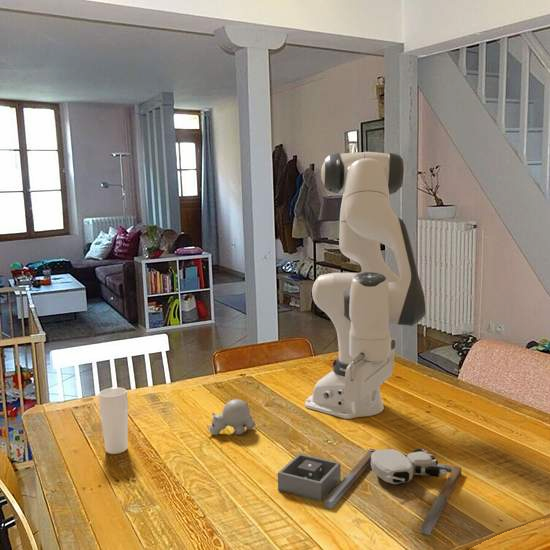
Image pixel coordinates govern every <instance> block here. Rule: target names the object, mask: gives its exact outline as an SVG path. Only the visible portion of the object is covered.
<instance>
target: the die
mask: <svg viewBox="0 0 550 550" xmlns="http://www.w3.org/2000/svg"><path fill="white" fill-rule="evenodd" d="M297 476H299V477H303V478H307V479H311V480H315V481H320V480H321V479H322V478H323V464H322V463H318V462H314V461H310V460H305V461H304V462H303V463H302V464H300V465H299V466H298V467H297Z"/></svg>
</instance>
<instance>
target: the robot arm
mask: <svg viewBox="0 0 550 550" xmlns="http://www.w3.org/2000/svg"><path fill="white" fill-rule="evenodd" d="M403 159H404V158H402V156H401V155H399V154H397V153H391V152H387V153H384V152H376V151H363V152H359V151H358V152H357V151H356V152H347V153H345V152H344V153H340V152H337V153H331V154H328V155H327V156H326V157H325V158H324V161H323V163H322V166H321V169H320V176H321V177H320V178H321V181H322V183H323V185H324V186H323V188H325V190H327V192H330V193H334V194H339V193H341V194H342V193H343V194H342V199H341V204H340V210H339V211H340V212H339V229H338V230H339V238H338V239H339V240H338V243H339V244H338V247H339V250H340V252H341V254H342V255H343V256H345V257H346V258H347V259H350V260H351V261H353V262H356V263H357V264H359V266H360V268H361V271H360V272H331V273H326V274H320V275H318V277H317V278H316V279H315V280H314V282H313V285H312V288H311V295H312V300H313V302H314V304H315V305H316V307H318V309H320V310H321V311H322V312H324V313H325V314H326V315H327V317H328V318H329V319H330V321H331V322H332V324H333V326H334V328H335V331H336V334H337V344H338V355H337V356H336V358H335V359H333V360H332V362H331V363H330V368H332V370H331V371H330V372H329V373H327V374H326V375H324V376H323V377H322V378H320V379H319V380H317V382H316V383H315V385H314V386H313V391H312V392H313V393H312V394H311V395H310V396H308V397H307V399H305V402H304V406H305V408H307V409H310V410H314V411H317V412H320V413H325V414H327V415H332V416H335V417H339V418H342V419H345V420H346V419H347V420H349V419H353V418H354V419H355V418H360V417H363V418H364V417H371V416H375V415H378V414H380V413H382V412H383V410H384V409H385V407H384V404H383V403H384V402H383V400H382V395H381V389H380V386H381V385H382V384H383V383H384V382H386V381H387V380H388V379H389V378H391V377H392V374H393V372H394V363H395V348H396V347H397V339H396V338H394V337H391V330H390V329H389V328H390V326H389V325H399V326H408V327H413V326H415V325H417V324H418V323H419V322H420V321H421V320H422V319H423V318H424V317H425V316H426V311H427V298H426V294H425V292H424V289H423V287H422V286H423V285H422V282H421V280H420V276H419V273H418V269H417V264H416V260H415V259H416V258H415V255H414V252H413V247H412V243H411V240H410V236H409V233H408V230H407V227H406V224H405V222H404V220H403V219H402V218H400V217H398V216H397V215H396V214H395V213H394V211H393V210H392V207H391V203H390V202H391V201H390V195H392V194H393V195H394V194H395V193H397V192H398V191H399V190H400V189H401V188H402V186H403V183H404V181H405V178H406V166H405V163H404V160H403ZM381 244H382V245H384V246H386V247H387V248H389V249H390V250H391V251H392V253H393V255H394V258H395V261H396V266H397V270H398V275H397V274H396V273H394V271H393V270H391V268H390V267H389V266H388V264H387V263H386V261H385V260H384V259H385V258H384V257H383V254H382V251H381Z"/></svg>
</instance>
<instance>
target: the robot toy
mask: <svg viewBox="0 0 550 550" xmlns="http://www.w3.org/2000/svg"><path fill="white" fill-rule="evenodd" d="M375 450H376V451H373V450H370V448H369V449H368V448H367V449H365V451H366V452H368V451H370V452H373V453H372V455H371V463H370V467H371V469H372V472H373V473H374V474H376V476H377V477H379V478H380V479H381V480H382V481H384V482H386V483H389V484H392V485H398V484H402V483H408V482H410V481H411V480H412V479H413V478H414V477H413V476H414V475H415V476H416V475H417V476H421V477H424V476H425V477H426V476H429V477H433V478H439V477H440V476H442V477H446V476H447V475H448V471H446V470H443V469H442V470H440V469H439V467H436V466H437V464H438V463H439V462H438V459H437V458H436V457H435V456H434V455H433V454H431V453H428V451H427V450H426V449H423V448H422V449H421V448H417V449H414V450H413V451H412V452H410V453H408V454H405V455H404V454H403V453H402V452H400V451H399V450H396V449H392V448H389V449H388V448H387V449H386V448H385V449H375Z"/></svg>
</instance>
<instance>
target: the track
mask: <svg viewBox="0 0 550 550" xmlns="http://www.w3.org/2000/svg"><path fill="white" fill-rule="evenodd" d="M369 450H373V451H376V450H377V449H374V448H369ZM372 453H373V452H370V451H366V453H365V455H364V456H363V457H362V458H361V459H360V460H359V461H358V462H357V463H356V465H354V467H353V468H352V469H351V470H350V471H349V472H348V474H347V475H345V477H344V478H343V479H342V480H340V481H339V483H338V484H337V485H336V486H335V487H334V488H333V489H332V490H331V492H330V493H329V494H328V495H327V496H326V497H325V498H324V508H326V509H329V510H333V508H334V507H335V506H336V504H337V503H338V502H339V501H340V500H341V499H342V497H344V495H345V494H346V493H347V491H348V490H349V489H350V488H351V487H352V485H354V483H355V482H356V481H357V480H358V479H359V477H360V476H361V475H362V474H363V473H364V472H365V470H366V469H367V468H368V467H369V466H370V465H371V455H372ZM436 467H439V470H442V469H443V470H446V471H447V472H450V473H449V475H448V477H447V478H446V480H445V482H444V484H443V486H442V488H441V489H440V491H439V493H438V495H437V497H436V498H435V501H434V502H433V504H432V506H431V507H430V509H429V511H428V513H427V515H426V516H425V518H424V520H423V522H422V524H421V529H420V530H421V531H420V532H421V534H422V535H423V534H424V535H427V536H431V533H432V531H433V530H434V527H435V526H436V523H437V522H438V520H439V518H440V516H441V514H442V512H443V511H444V510H443V509H444V508H445V506H446V504H447V502H448V500H449V499H450V496H451V495H452V492H453V490H454V488H455V487H456V485H457V483H458V481H459V479H460V477H461V475H462V467H460V466H455V465H454V466H453V465H447V464H444V463H439V462H438V464H437V466H436ZM345 492H346V493H345Z"/></svg>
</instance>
